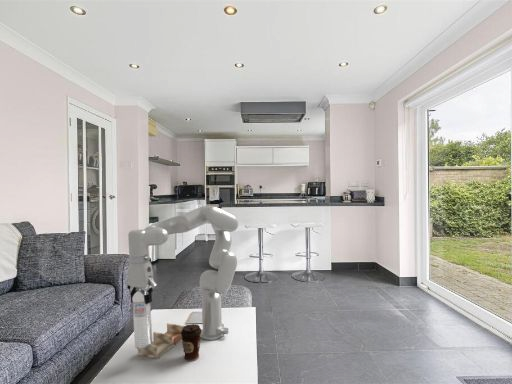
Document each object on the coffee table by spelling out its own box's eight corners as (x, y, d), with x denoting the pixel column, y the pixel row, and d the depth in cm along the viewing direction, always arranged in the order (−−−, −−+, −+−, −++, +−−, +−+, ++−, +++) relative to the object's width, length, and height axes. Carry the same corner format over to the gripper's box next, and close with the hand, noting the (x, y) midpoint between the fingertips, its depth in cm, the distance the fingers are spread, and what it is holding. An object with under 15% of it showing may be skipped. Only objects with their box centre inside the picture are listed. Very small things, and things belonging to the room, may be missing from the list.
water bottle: (155, 342, 122) (152, 283, 122) (144, 350, 116) (141, 289, 116) (142, 340, 125) (139, 282, 124) (131, 348, 118) (127, 287, 118)
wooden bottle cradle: (186, 336, 142) (185, 326, 142) (157, 359, 123) (157, 347, 123) (168, 333, 146) (167, 323, 146) (138, 354, 127) (137, 342, 127)
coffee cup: (191, 365, 118) (190, 333, 118) (177, 360, 122) (176, 329, 122) (205, 355, 125) (204, 325, 125) (191, 350, 129) (191, 321, 129)
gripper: (162, 258, 120) (164, 300, 120) (130, 256, 127) (132, 296, 127) (149, 262, 113) (151, 307, 113) (116, 260, 120) (118, 303, 120)
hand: (141, 301), depth 120 cm, fingers closed on water bottle, 6 cm apart
